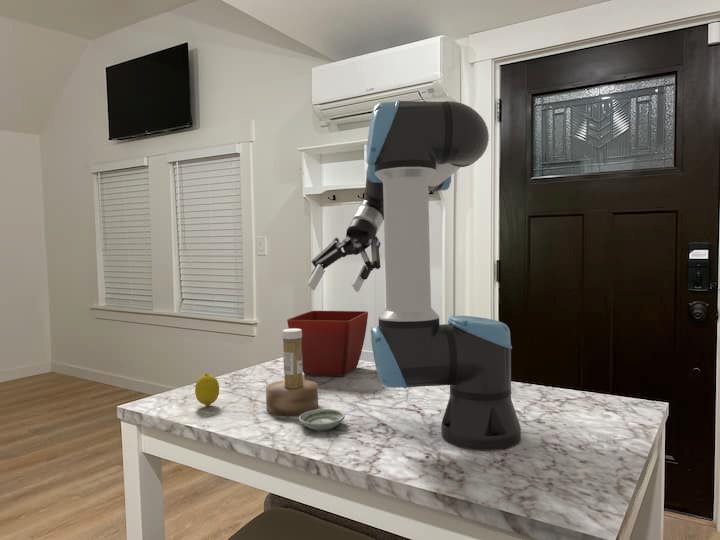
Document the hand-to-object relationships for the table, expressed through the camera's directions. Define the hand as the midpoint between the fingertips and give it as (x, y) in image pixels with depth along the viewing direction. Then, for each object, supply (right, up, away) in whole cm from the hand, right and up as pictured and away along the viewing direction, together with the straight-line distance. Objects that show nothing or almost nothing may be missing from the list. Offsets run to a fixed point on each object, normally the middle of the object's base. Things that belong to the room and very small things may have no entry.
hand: (332, 287), depth 131 cm
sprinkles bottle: (-9, -23, -7) cm, 26 cm away
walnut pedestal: (-9, -28, -7) cm, 30 cm away
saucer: (-1, -29, -20) cm, 35 cm away
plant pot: (-2, -26, +27) cm, 38 cm away
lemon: (-29, -28, -5) cm, 41 cm away
